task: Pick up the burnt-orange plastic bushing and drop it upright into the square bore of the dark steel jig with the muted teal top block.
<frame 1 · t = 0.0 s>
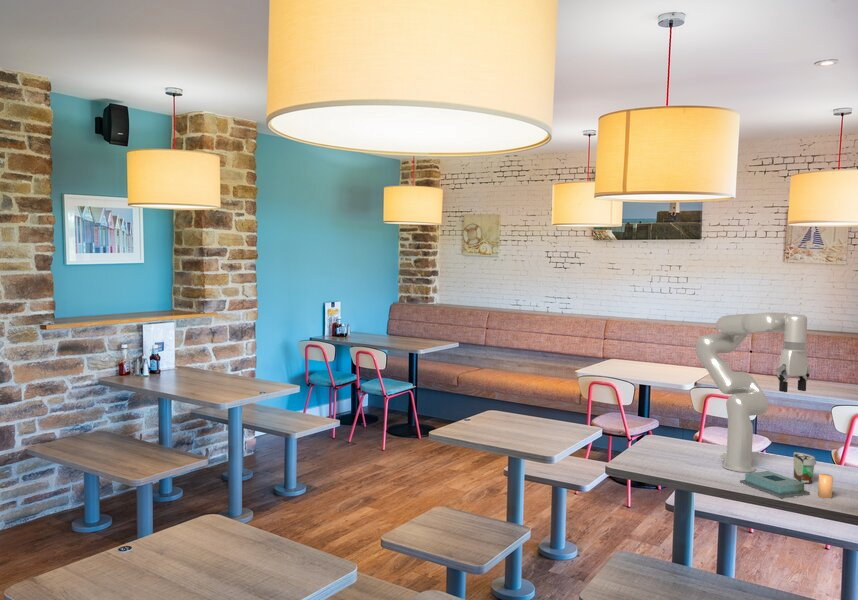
hand: (792, 391, 257), 37 cm above the table, tool pointing down, fingers open, 9 cm apart
jig: (773, 488, 254), on the table
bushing: (824, 496, 246), on the table
food container: (805, 482, 265), on the table
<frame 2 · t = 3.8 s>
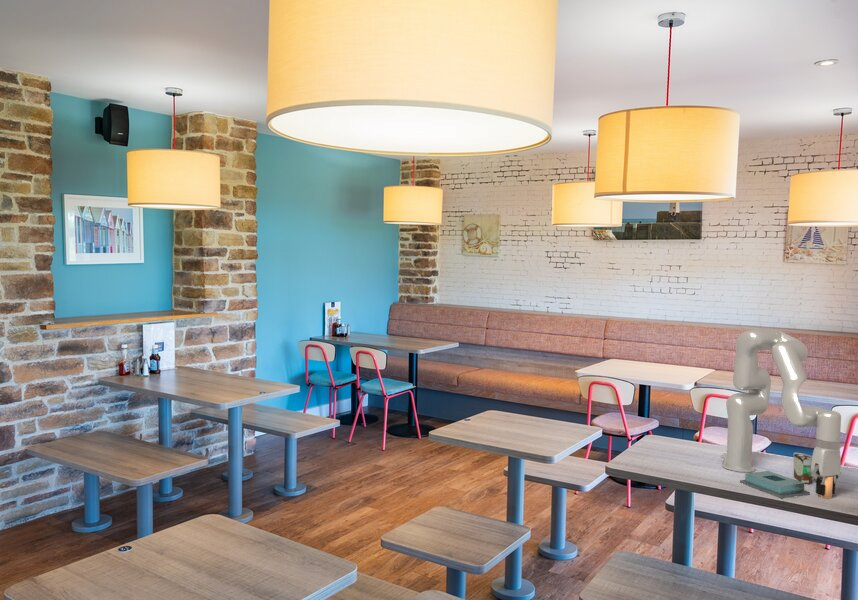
hand: (825, 493, 246), 1 cm above the table, tool pointing down, fingers closed on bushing, 4 cm apart
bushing: (824, 496, 246), on the table, touching gripper
everything else where it was.
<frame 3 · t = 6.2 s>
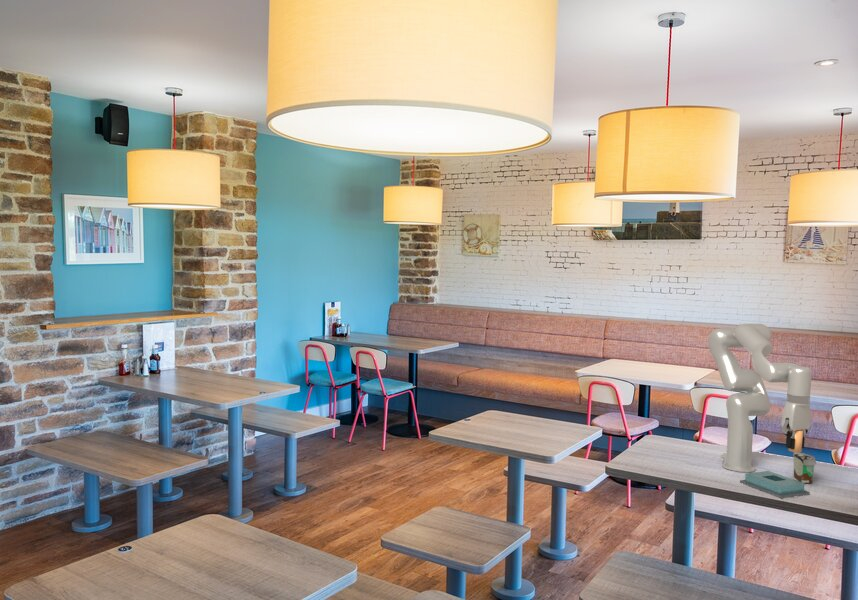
hand: (794, 447, 251), 17 cm above the table, tool pointing down, fingers closed on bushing, 4 cm apart
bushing: (794, 450, 251), point 15 cm above the table, touching gripper
everything else where it was.
when the fingers open (4 cm above the table, at t = 9.0 s): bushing drops 2 cm, resting on jig.
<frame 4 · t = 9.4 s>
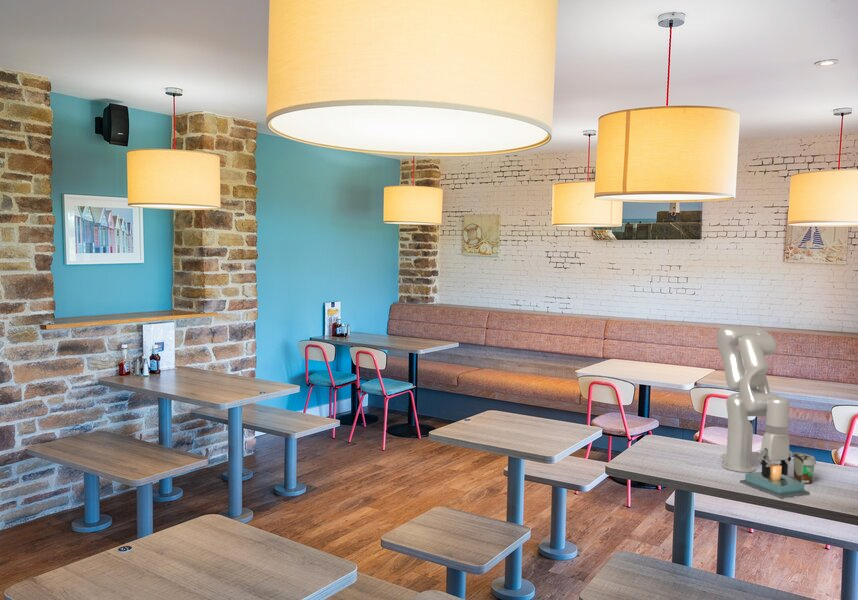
hand: (774, 475, 254), 5 cm above the table, tool pointing down, fingers open, 8 cm apart
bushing: (774, 485, 254), point 1 cm above the table, touching jig
everything else where it was.
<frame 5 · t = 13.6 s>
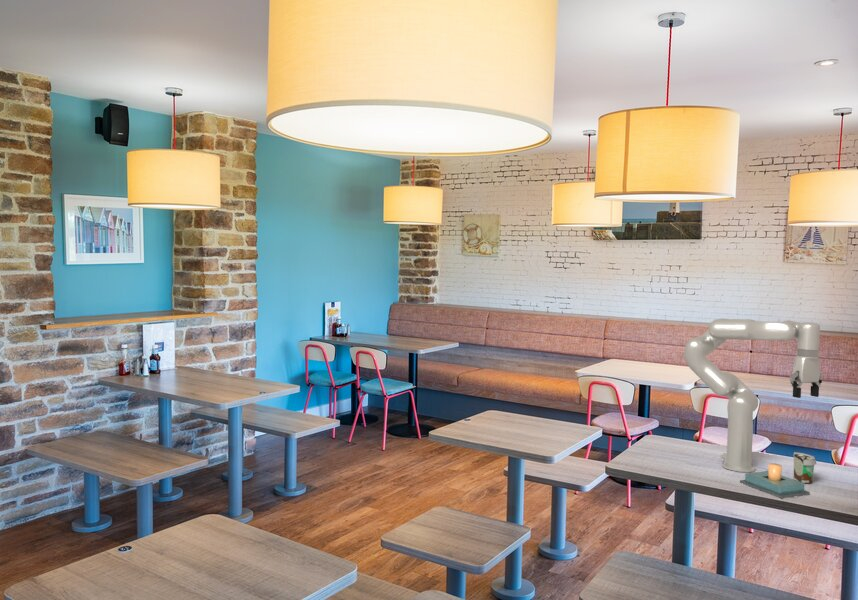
hand: (805, 396, 265), 33 cm above the table, tool pointing down, fingers open, 9 cm apart
nothing on the table moved.
at the end: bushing 0.1 cm off-centre on the jig, point 1.0 cm above the jig's base; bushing tilted 0°; the gripper is holding nothing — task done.
